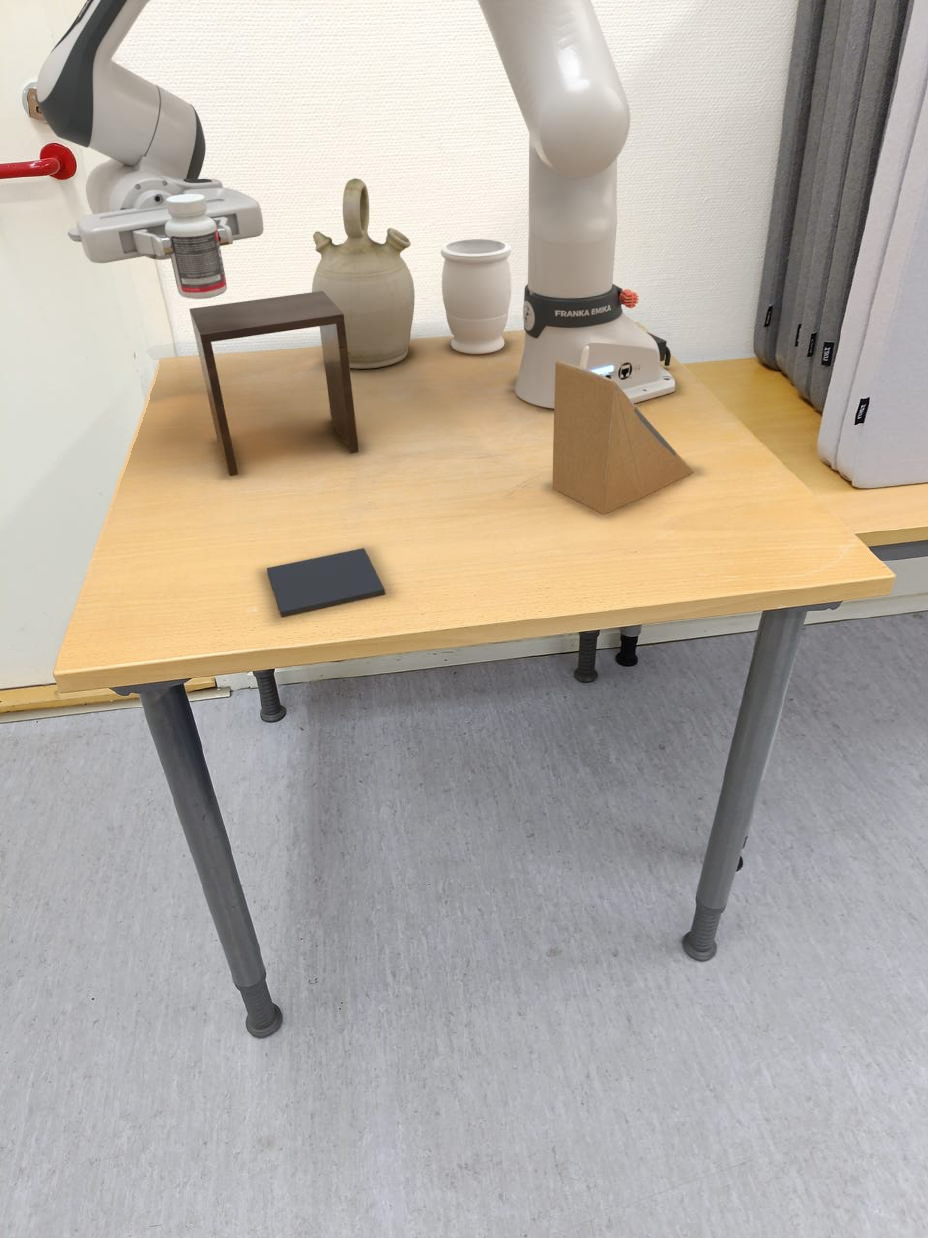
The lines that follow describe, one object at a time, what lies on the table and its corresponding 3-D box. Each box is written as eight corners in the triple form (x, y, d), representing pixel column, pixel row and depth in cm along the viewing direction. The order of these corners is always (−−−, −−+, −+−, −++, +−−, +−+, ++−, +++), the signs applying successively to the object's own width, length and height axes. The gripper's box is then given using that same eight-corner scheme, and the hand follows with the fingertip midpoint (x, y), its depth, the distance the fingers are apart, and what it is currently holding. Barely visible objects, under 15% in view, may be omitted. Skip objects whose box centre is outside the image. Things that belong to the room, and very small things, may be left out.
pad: (364, 552, 89) (364, 547, 88) (385, 594, 83) (384, 589, 82) (267, 572, 86) (266, 567, 86) (281, 617, 80) (280, 611, 80)
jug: (434, 344, 138) (426, 171, 123) (389, 379, 127) (373, 192, 112) (351, 334, 143) (334, 166, 128) (300, 366, 132) (275, 186, 117)
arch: (217, 442, 111) (189, 308, 101) (339, 421, 115) (323, 290, 105) (229, 476, 103) (199, 334, 93) (358, 451, 108) (343, 313, 97)
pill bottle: (237, 291, 97) (221, 196, 91) (196, 303, 93) (176, 205, 87) (210, 282, 100) (192, 189, 94) (169, 293, 96) (148, 198, 90)
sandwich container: (697, 472, 101) (716, 344, 92) (605, 515, 93) (615, 381, 84) (641, 448, 106) (654, 325, 97) (550, 487, 99) (555, 358, 90)
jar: (520, 339, 139) (521, 240, 130) (495, 361, 131) (494, 257, 122) (461, 332, 143) (458, 235, 134) (433, 352, 135) (428, 251, 126)
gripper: (54, 200, 95) (90, 225, 86) (229, 176, 104) (278, 196, 95) (71, 260, 99) (107, 290, 90) (238, 232, 108) (286, 256, 99)
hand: (196, 242), depth 93 cm, fingers closed on pill bottle, 5 cm apart
